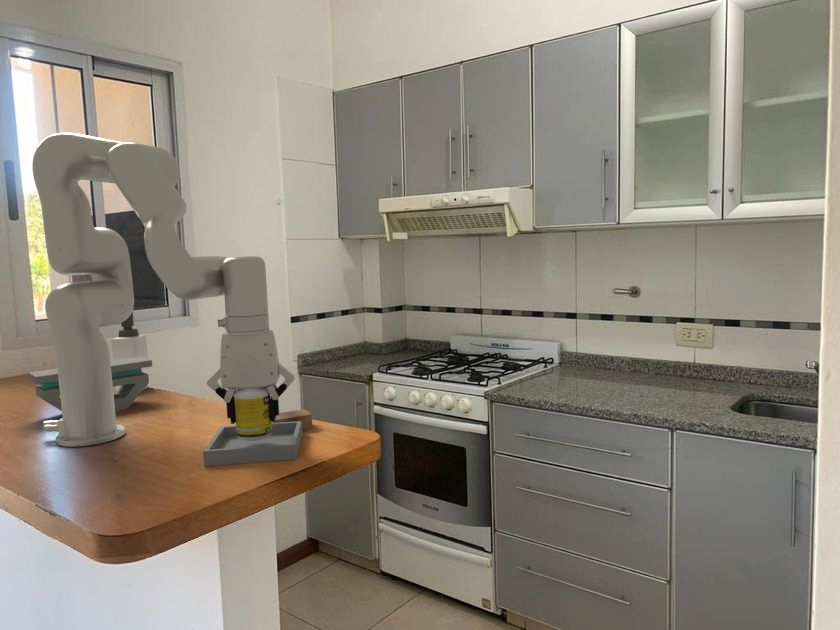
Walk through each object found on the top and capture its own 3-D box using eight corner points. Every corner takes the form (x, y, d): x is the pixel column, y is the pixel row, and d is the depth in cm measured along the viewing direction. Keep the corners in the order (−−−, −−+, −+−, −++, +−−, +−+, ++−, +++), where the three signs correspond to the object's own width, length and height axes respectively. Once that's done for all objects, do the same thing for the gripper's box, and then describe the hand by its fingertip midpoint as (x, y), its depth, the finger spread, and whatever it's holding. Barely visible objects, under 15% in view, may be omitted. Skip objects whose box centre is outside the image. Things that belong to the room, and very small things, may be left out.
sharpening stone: (40, 425, 143) (35, 376, 141) (33, 419, 148) (28, 372, 147) (155, 403, 159) (151, 360, 158) (144, 398, 165) (140, 356, 164)
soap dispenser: (111, 394, 171) (104, 312, 169) (127, 387, 180) (120, 308, 178) (136, 393, 171) (128, 311, 169) (150, 386, 180) (143, 307, 178)
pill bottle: (263, 442, 116) (259, 378, 114) (230, 441, 117) (225, 378, 116) (278, 431, 122) (274, 371, 121) (246, 430, 123) (242, 371, 122)
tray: (204, 466, 111) (203, 451, 111) (221, 439, 127) (221, 426, 126) (295, 459, 113) (294, 445, 112) (302, 433, 128) (301, 421, 128)
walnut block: (273, 435, 128) (272, 420, 128) (267, 429, 133) (266, 414, 132) (312, 428, 132) (311, 414, 131) (305, 423, 136) (304, 409, 136)
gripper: (193, 329, 113) (201, 429, 115) (294, 324, 114) (299, 423, 116) (203, 324, 120) (210, 418, 122) (297, 320, 122) (302, 412, 124)
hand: (253, 419), depth 119 cm, fingers closed on pill bottle, 6 cm apart
